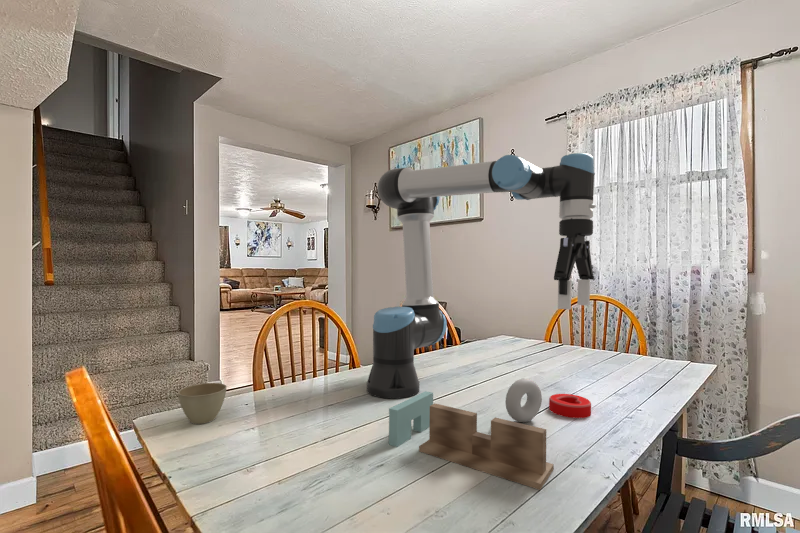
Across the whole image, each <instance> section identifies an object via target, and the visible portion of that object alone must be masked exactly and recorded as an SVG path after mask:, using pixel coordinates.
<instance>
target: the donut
mask: <svg viewBox="0 0 800 533" xmlns="http://www.w3.org/2000/svg"><path fill="white" fill-rule="evenodd" d="M524 395H526V401H525V403H524V405H522V404H521V402H522V398H523V396H524ZM542 395H543V394H542V390H541V388H540V386H539V385H538V384H537V383H536V382H535V381H534V380H532V379H531V378H525V377H524V378H521V379H517V380H515V381H514V382H513V383H512V384H511V385H510V386H509V388H508V390H507V392H506V396H505V408H506V412H507V413H508V415H509V417H511V419H512V420H514V421H515V422H517V423H527V422H530V421H532V420H533V419H534V418H535V417H536V416H537V414H538V413H539V412H540V409H541V407H542V402H543V396H542Z"/></svg>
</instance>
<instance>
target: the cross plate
mask: <svg viewBox="0 0 800 533" xmlns="http://www.w3.org/2000/svg"><path fill="white" fill-rule="evenodd" d="M433 404H434V392H431V391H427V390H425V391H423V392H421V393H418V394H416V395H413V396H411V398H408V399H406V400H404V401H402V402H400V403H398V404H396V405H394V406H392V407H389V408H388V444H389V446H392V447H395V448H398V447H400V446H401V445H403V444H405V443H406V442H407V441H409V440H411V439H412V430H413V431H416V432H420V433H422V432H424V431H425V430H427V429H428V428H429V426H430V406H431V405H433ZM412 425H413V426H412Z"/></svg>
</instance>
